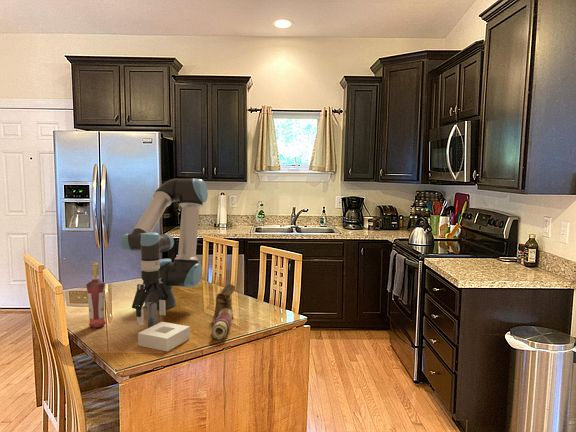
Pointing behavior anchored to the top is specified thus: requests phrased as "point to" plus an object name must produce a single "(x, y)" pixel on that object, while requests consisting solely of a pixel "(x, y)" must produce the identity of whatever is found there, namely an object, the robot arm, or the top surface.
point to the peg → (151, 314)
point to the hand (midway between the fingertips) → (151, 319)
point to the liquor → (96, 299)
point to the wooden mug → (224, 300)
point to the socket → (164, 336)
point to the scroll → (222, 323)
